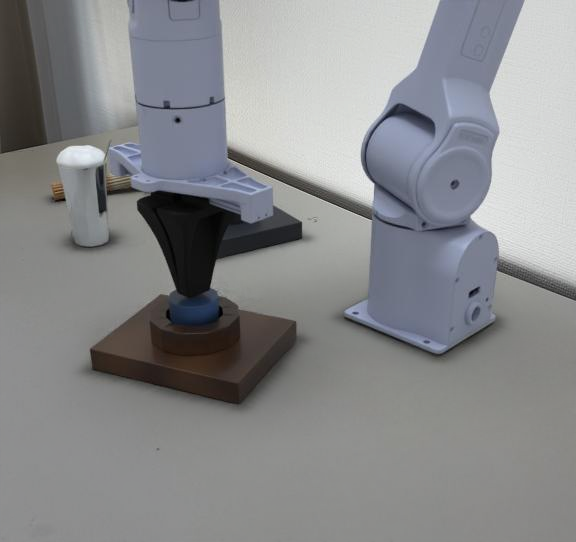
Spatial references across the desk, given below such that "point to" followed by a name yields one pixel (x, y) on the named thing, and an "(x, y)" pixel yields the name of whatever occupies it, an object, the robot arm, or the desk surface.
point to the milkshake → (85, 192)
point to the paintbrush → (112, 184)
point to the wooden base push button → (196, 350)
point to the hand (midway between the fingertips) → (194, 291)
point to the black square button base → (259, 233)
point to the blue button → (194, 308)
